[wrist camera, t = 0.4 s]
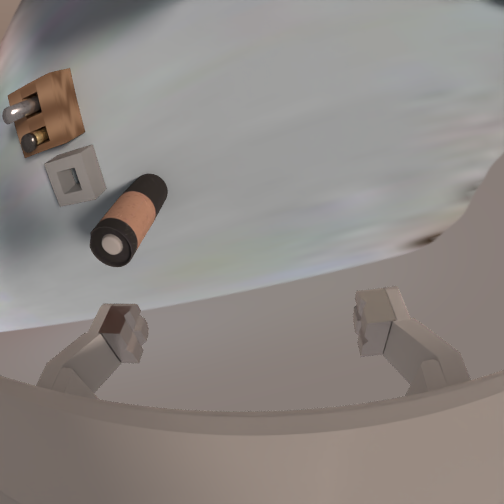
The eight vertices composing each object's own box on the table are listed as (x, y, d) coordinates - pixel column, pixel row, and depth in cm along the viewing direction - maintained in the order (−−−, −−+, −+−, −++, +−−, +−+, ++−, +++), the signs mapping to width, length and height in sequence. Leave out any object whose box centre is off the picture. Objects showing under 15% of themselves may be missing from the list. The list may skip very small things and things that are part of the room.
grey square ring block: (57, 155, 55) (44, 164, 51) (92, 144, 54) (80, 152, 50) (71, 196, 61) (60, 206, 57) (106, 188, 59) (95, 199, 55)
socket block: (28, 88, 45) (7, 95, 40) (69, 68, 44) (49, 72, 38) (44, 146, 53) (24, 158, 48) (85, 131, 52) (66, 142, 46)
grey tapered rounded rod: (45, 93, 47) (0, 110, 35) (56, 88, 46) (11, 105, 35) (48, 106, 48) (5, 126, 37) (59, 102, 48) (15, 120, 37)
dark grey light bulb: (43, 124, 48) (18, 137, 41) (55, 119, 47) (31, 131, 41) (47, 140, 50) (24, 154, 43) (60, 136, 49) (36, 149, 43)
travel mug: (175, 198, 60) (142, 260, 44) (145, 211, 62) (106, 273, 46) (157, 166, 56) (114, 218, 40) (127, 181, 58) (79, 235, 42)
